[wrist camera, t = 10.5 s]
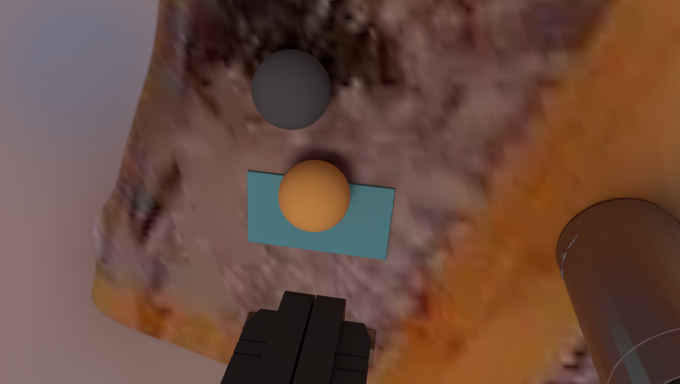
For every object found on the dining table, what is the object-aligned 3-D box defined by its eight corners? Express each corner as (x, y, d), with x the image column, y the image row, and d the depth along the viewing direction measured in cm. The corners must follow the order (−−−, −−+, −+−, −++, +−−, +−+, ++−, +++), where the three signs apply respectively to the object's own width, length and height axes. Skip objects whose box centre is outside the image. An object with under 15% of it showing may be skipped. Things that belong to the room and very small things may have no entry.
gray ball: (289, 149, 36) (322, 139, 41) (324, 73, 34) (355, 72, 39) (224, 107, 38) (264, 103, 43) (255, 32, 36) (293, 36, 41)
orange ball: (352, 164, 39) (342, 241, 39) (357, 164, 45) (348, 231, 45) (276, 154, 40) (266, 230, 40) (290, 155, 45) (282, 222, 45)
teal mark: (394, 188, 44) (394, 189, 44) (385, 258, 47) (385, 259, 47) (248, 170, 45) (247, 171, 45) (248, 240, 48) (248, 241, 48)
